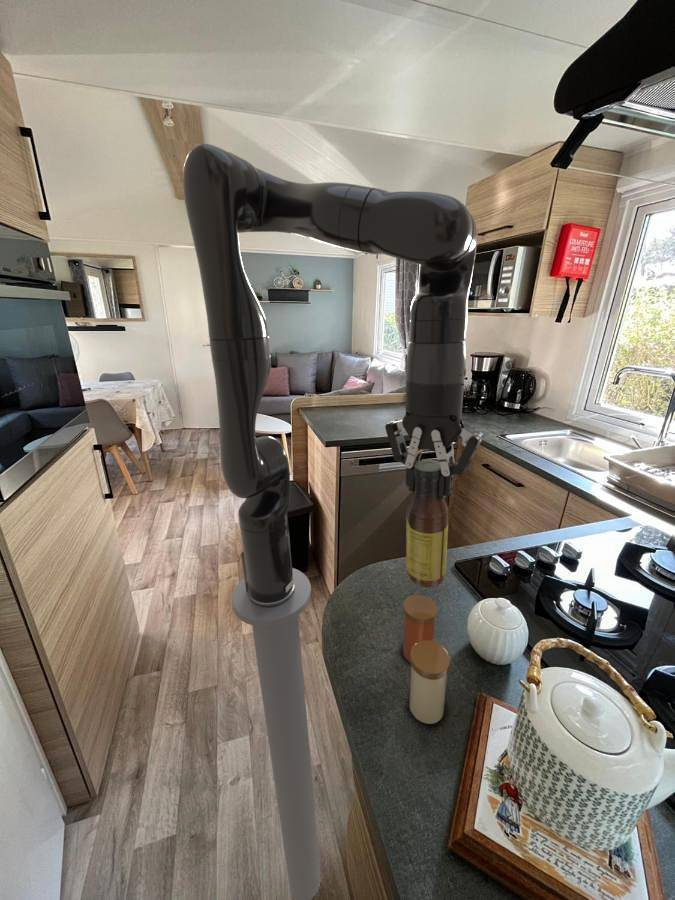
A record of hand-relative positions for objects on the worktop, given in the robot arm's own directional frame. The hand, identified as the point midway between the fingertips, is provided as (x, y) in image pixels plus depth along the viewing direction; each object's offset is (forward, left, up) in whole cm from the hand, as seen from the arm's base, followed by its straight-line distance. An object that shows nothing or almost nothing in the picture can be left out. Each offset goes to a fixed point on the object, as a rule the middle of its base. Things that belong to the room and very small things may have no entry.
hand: (428, 492), depth 56 cm
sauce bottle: (0, 0, -15) cm, 15 cm away
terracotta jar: (0, -1, -30) cm, 30 cm away
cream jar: (+5, -9, -30) cm, 32 cm away
